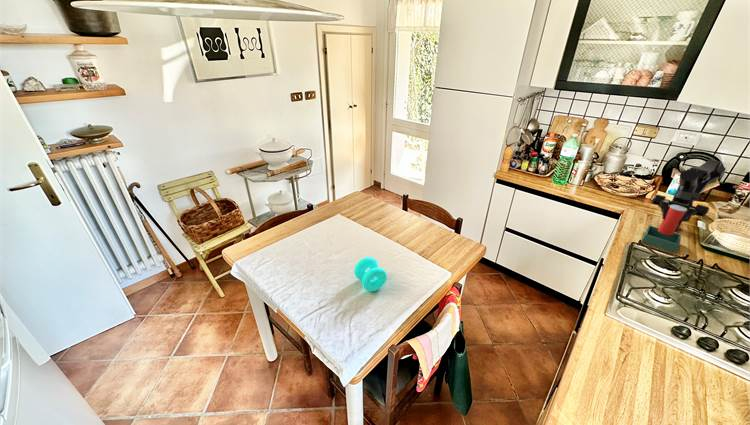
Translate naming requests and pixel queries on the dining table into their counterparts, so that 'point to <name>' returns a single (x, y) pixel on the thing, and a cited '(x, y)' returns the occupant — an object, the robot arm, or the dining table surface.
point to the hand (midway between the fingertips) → (671, 221)
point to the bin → (661, 239)
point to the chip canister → (672, 219)
